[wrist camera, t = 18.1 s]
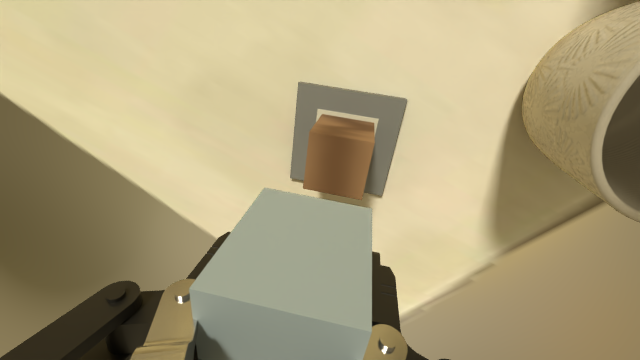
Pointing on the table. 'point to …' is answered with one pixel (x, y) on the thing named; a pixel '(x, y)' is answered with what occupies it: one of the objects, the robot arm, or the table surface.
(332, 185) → the walnut block
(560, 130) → the planter
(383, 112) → the pad
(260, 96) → the table surface
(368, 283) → the blue grey block
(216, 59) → the table surface
